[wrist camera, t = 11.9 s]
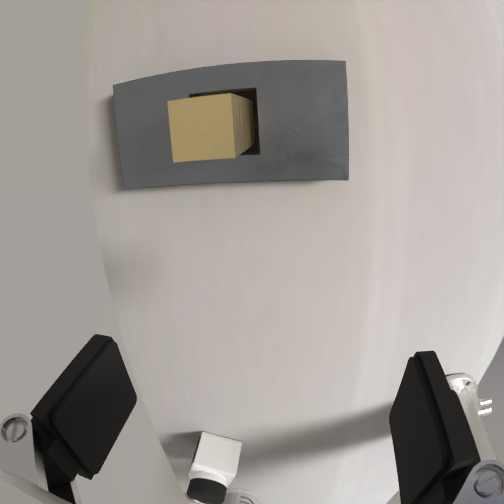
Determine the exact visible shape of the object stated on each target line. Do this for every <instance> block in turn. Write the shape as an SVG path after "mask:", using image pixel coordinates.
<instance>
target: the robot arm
mask: <svg viewBox="0 0 504 504" xmlns="http://www.w3.org/2000/svg"><path fill="white" fill-rule="evenodd" d="M477 392H478V386H477V384H476V382H475V380H474V379H473V377H471V376H469V375H465V374H455V375H450V376H445V374H444V371H443V369H442V367H441V364H440V362H439V360H438V357H437V355H436V353H435V352H434V351H423V352H416V353H415V355H414V357H410V358H409V360H408V363H407V366H406V369H405V372H404V375H403V378H402V381H401V384H400V387H399V390H398V393H397V396H396V398H395V401H394V404H393V406H392V409H391V412H390V416H389V422H390V428H391V434H392V440H393V446H394V453H395V459H396V466H397V473H398V481H399V489H400V498H401V504H504V464H503V463H501V462H500V461H497V460H496V459H495V456H494V454H493V451H492V448H491V445H490V442H489V440H488V437H487V434H486V431H485V429H484V426H483V424H482V421H481V418H480V417H483V416H487V415H489V414H490V413H491V405H490V404H491V398H490V397H487V398H483V399H479V398H478V397H477ZM136 401H137V396H136V393H135V390H134V388H133V385H132V383H131V381H130V378H129V375H128V373H127V370H126V367H125V365H124V362H123V360H122V357H121V354H120V351H119V348H118V345H117V343H116V342H114V340H113V339H112V338H111V337H109V336H104V335H98V334H96V335H94V336H93V337H92V338H91V339H90V340H89V341H88V343H87V344H86V345H85V346H84V347H83V349H82V350H81V351H80V352H79V353H78V354H77V356H76V357H75V358H74V359H73V360H72V362H71V363H70V364H69V365H68V366H67V368H66V369H65V370H64V371H63V373H62V374H61V375H60V376H59V378H58V379H57V380H56V381H55V382H54V384H53V385H52V386H51V387H50V389H49V390H48V391H47V392H46V394H45V395H44V396H43V397H42V399H41V400H40V401H39V402H38V404H37V405H36V406H35V408H34V409H33V410H32V412H31V413H30V414H31V415H32V416H33V418H32V419H31V420H30V419H29V418H28V417H27V416H26V415H24V414H20V413H19V414H13V415H10V416H8V417H7V418H5V419H4V420H3V421H2V422H1V424H0V504H82V503H81V500H80V496H79V492H78V489H77V485H76V481H75V477H76V475H77V473H78V474H79V475H80V476H83V477H85V478H88V479H90V480H91V479H92V478H93V476H94V474H97V473H99V471H100V469H101V467H102V465H103V464H104V462H105V460H106V458H107V456H108V454H109V452H110V450H111V448H112V446H113V445H114V443H115V441H116V439H117V437H118V436H119V433H120V432H121V430H122V428H123V426H124V424H125V422H126V421H127V419H128V417H129V415H130V413H131V412H132V410H133V408H134V406H135V404H136Z"/></svg>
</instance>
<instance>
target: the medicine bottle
mask: <svg viewBox="0 0 504 504" xmlns="http://www.w3.org/2000/svg"><path fill="white" fill-rule="evenodd" d="M241 447H242V442H240V441H236V440H232V439H229V438H225V437H221V436H217V435H214V434H210V433H207V432H201V435H200V438H199V441H198V444H197V447H196V450H195V453H194V457H193V460H192V463H191V467H190V470H189V474H188V478H189V479H191V480H190V483H189V487H188V490H187V495H188V497H189V498H191V499H192V500H194V501H196V502H198V503H201V504H222V503H223V502H224V500H225V495H226V491H227V487H228V486H229V484H230V483H231V482H232V480H233V479H234V477H235V476H236V473H237V468H238V462H239V457H240V452H241Z"/></svg>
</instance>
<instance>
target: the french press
mask: <svg viewBox="0 0 504 504" xmlns="http://www.w3.org/2000/svg"><path fill="white" fill-rule="evenodd" d="M260 499H261V497H260V495H259V494H257V493H255V492H252V491H249V490H244V489H234V488H230V489H227V491H226V495H225V500H224V503H222V504H256V502H257V501H259V500H260Z"/></svg>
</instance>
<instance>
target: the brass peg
mask: <svg viewBox="0 0 504 504" xmlns="http://www.w3.org/2000/svg"><path fill="white" fill-rule="evenodd" d="M167 102H168V114H169V125H170V136H171V146H172V156H173V163H175V162H186V161H198V160H211V159H226V158H236V157H237V156H239V155H240V154H241V153H243V152H244V151H245V150H247V149H248V148H249V147H251V146H252V145H253V144H255V136H254V119H253V103H252V100H250V99H247V98H244V97H241V96H238V95H235V94H232V93H228V94H218V95H209V96H200V97H193V98H185V99H178V100H172V101H167Z"/></svg>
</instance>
